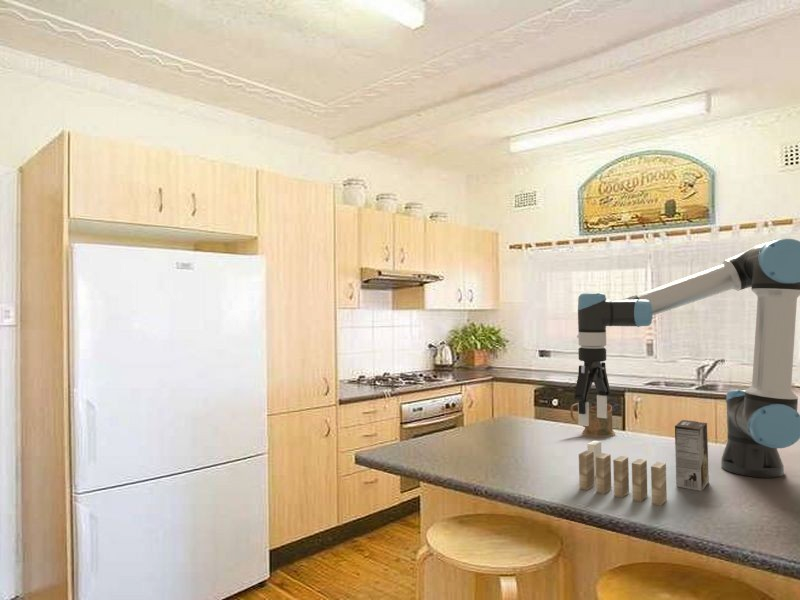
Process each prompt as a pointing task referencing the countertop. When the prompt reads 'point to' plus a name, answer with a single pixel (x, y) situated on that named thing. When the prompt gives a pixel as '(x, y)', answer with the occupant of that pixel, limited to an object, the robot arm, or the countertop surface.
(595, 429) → the mug
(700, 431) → the coffee box
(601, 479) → the domino
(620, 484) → the domino
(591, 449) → the domino
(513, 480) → the countertop surface
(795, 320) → the robot arm
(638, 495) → the domino
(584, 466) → the domino
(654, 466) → the domino
